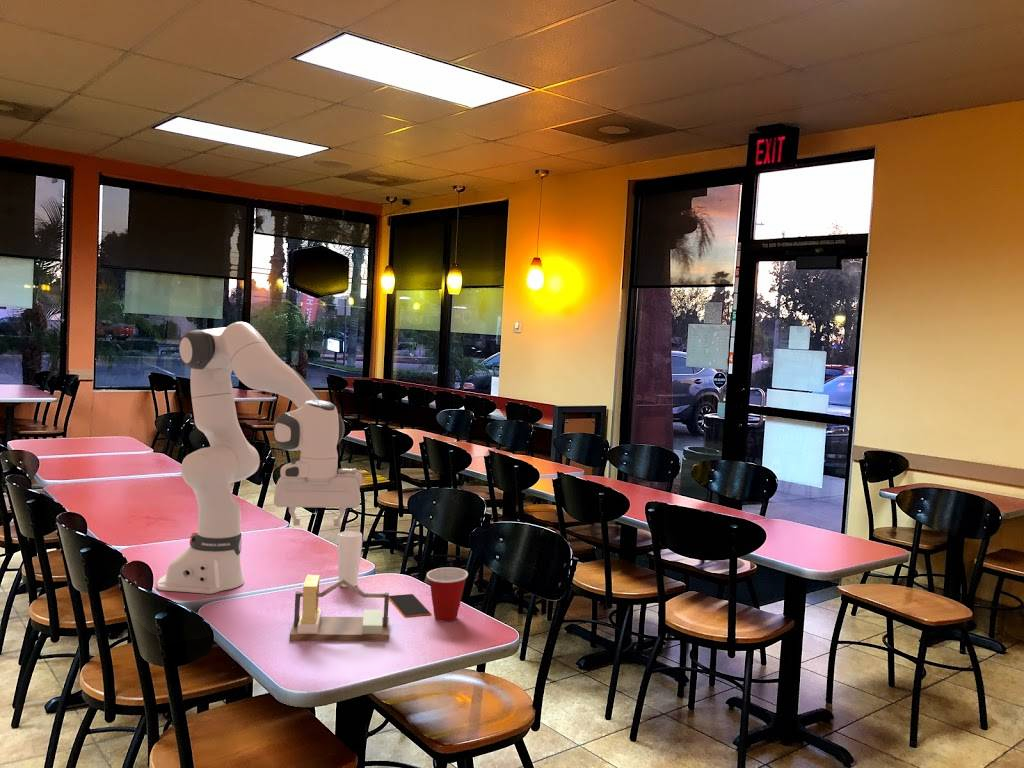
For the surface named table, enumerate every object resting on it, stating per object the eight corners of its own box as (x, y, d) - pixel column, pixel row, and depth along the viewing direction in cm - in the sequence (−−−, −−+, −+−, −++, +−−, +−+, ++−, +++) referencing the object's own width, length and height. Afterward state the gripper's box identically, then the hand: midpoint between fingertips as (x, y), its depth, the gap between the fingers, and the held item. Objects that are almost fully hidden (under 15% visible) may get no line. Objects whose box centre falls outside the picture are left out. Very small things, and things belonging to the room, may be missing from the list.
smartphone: (404, 619, 210) (404, 616, 210) (387, 598, 226) (387, 595, 226) (432, 616, 214) (432, 613, 214) (413, 596, 229) (413, 593, 229)
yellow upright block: (300, 623, 192) (302, 586, 192) (304, 610, 201) (306, 574, 200) (315, 623, 193) (317, 586, 192) (318, 610, 201) (320, 575, 201)
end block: (362, 633, 193) (362, 625, 193) (363, 617, 204) (363, 609, 204) (381, 633, 194) (382, 625, 194) (382, 617, 205) (382, 609, 205)
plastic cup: (416, 614, 213) (418, 569, 212) (451, 608, 220) (453, 564, 219) (437, 628, 204) (440, 581, 204) (473, 621, 211) (476, 575, 210)
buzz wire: (289, 640, 190) (291, 586, 190) (295, 622, 202) (297, 570, 202) (388, 640, 194) (391, 587, 193) (388, 622, 206) (391, 572, 205)
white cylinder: (333, 582, 235) (335, 531, 234) (356, 580, 238) (359, 530, 237) (338, 589, 229) (341, 537, 228) (362, 588, 232) (365, 536, 231)
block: (297, 633, 191) (297, 625, 191) (302, 617, 202) (302, 609, 202) (317, 633, 192) (317, 625, 192) (321, 617, 203) (321, 609, 203)
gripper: (362, 467, 200) (360, 522, 201) (276, 465, 197) (275, 521, 197) (362, 471, 194) (360, 528, 195) (273, 469, 190) (272, 528, 191)
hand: (316, 525), depth 196 cm, fingers open, 8 cm apart
